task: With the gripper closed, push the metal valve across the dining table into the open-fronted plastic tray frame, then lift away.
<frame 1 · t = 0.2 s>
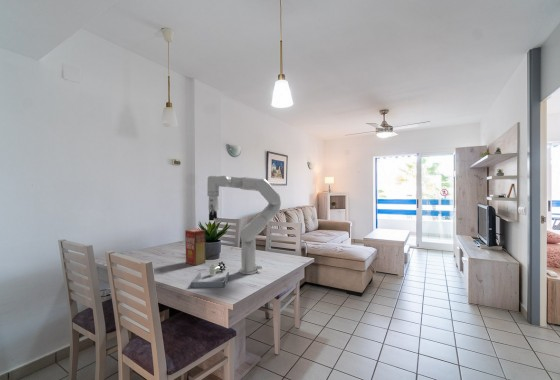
hand: (213, 219, 175), 36 cm above the table, tool pointing down, fingers open, 9 cm apart
tray frame: (211, 281, 157), on the table
valve: (216, 273, 172), on the table
food packaging: (195, 263, 197), on the table
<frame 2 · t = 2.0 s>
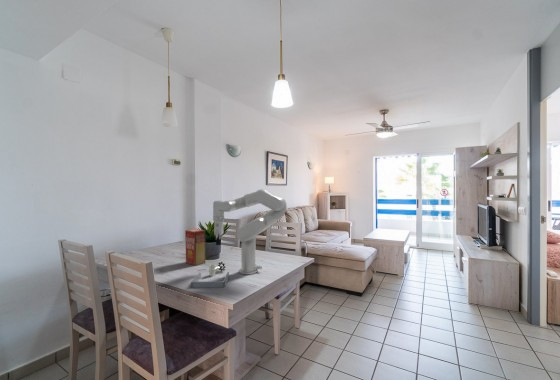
hand: (218, 244, 180), 17 cm above the table, tool pointing down, fingers closed
nothing on the table moved.
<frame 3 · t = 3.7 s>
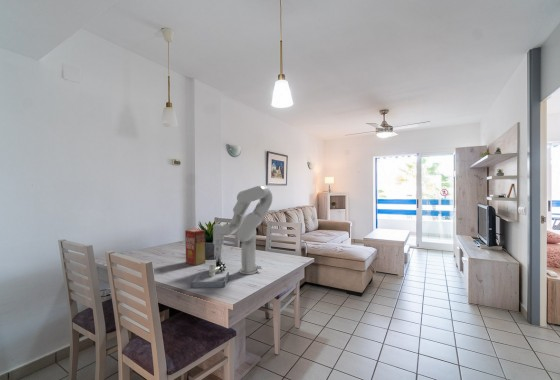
hand: (218, 267, 180), 1 cm above the table, tool pointing down, fingers closed
valve: (216, 274, 171), on the table, touching gripper
everything else where it was.
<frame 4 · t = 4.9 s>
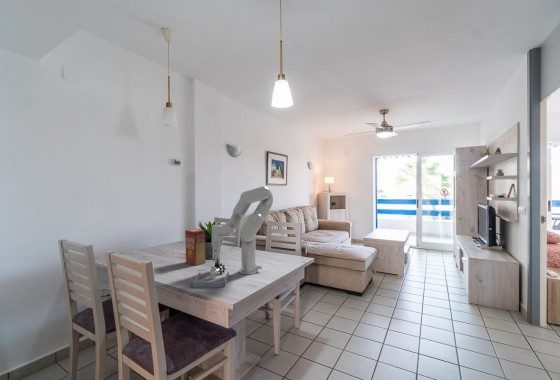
hand: (217, 269, 176), 1 cm above the table, tool pointing down, fingers closed
valve: (216, 276, 167), on the table
everything else where it was.
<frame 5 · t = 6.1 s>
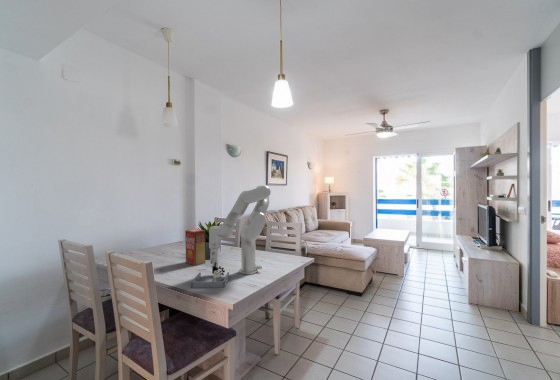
hand: (214, 273, 169), 1 cm above the table, tool pointing down, fingers closed
valve: (218, 279, 161), on the table
everything else where it was.
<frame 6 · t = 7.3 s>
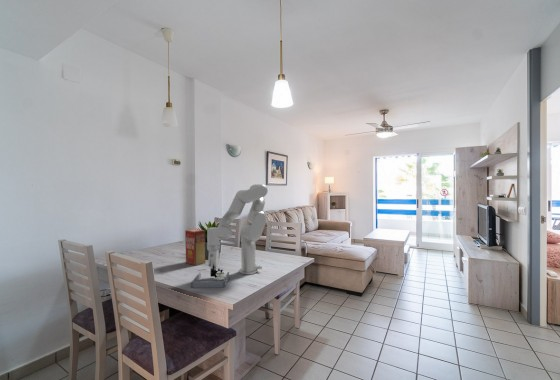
hand: (213, 276, 164), 1 cm above the table, tool pointing down, fingers closed
valve: (219, 282, 157), on the table, touching gripper
everything else where it was.
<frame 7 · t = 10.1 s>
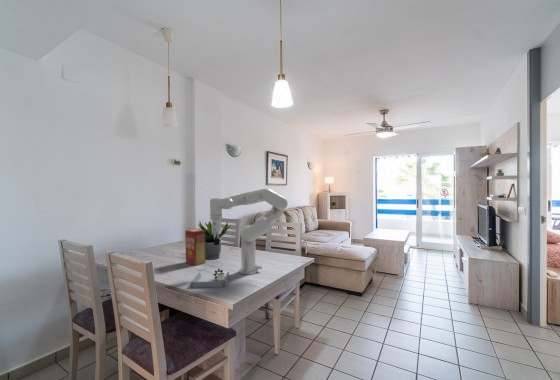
hand: (216, 244, 171), 20 cm above the table, tool pointing down, fingers closed
valve: (220, 282, 156), on the table
everything else where it was.
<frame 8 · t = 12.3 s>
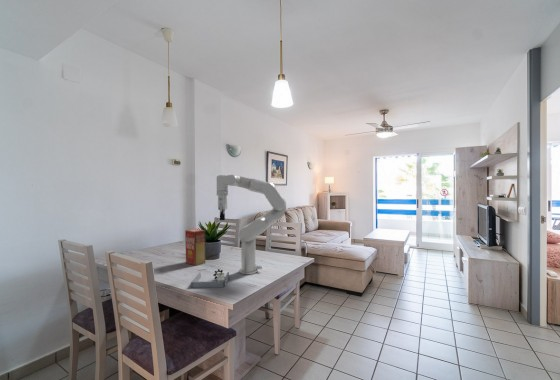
hand: (222, 219, 177), 35 cm above the table, tool pointing down, fingers closed
nothing on the table moved.
at the end: valve inside the target area on the tray frame (5.6 cm from its centre), point 0.0 cm above the tray frame's base; valve moved 17.6 cm from its start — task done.
